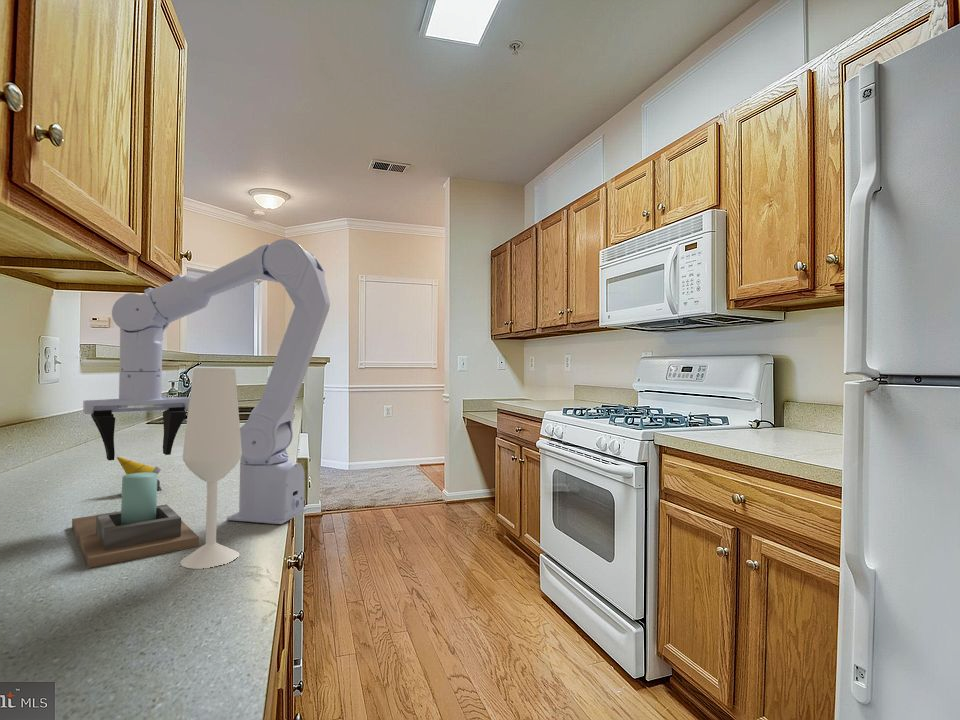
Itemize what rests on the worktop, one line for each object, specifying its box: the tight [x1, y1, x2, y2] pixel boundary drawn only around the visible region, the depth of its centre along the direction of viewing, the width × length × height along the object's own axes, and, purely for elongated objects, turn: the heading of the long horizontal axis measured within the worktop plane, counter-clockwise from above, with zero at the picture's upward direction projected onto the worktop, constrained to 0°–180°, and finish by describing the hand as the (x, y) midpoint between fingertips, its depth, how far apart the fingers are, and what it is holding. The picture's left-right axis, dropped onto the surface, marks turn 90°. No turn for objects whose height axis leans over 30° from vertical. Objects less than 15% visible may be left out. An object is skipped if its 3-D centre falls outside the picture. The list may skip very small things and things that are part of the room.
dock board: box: [71, 504, 200, 569], centre depth 74 cm, size 20×12×4 cm, turn 42°
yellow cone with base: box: [116, 456, 163, 491], centre depth 98 cm, size 5×5×10 cm
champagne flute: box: [180, 367, 242, 570], centre depth 67 cm, size 7×7×24 cm
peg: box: [120, 472, 158, 525], centre depth 71 cm, size 4×4×8 cm
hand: (139, 456), depth 84 cm, fingers open, 7 cm apart
